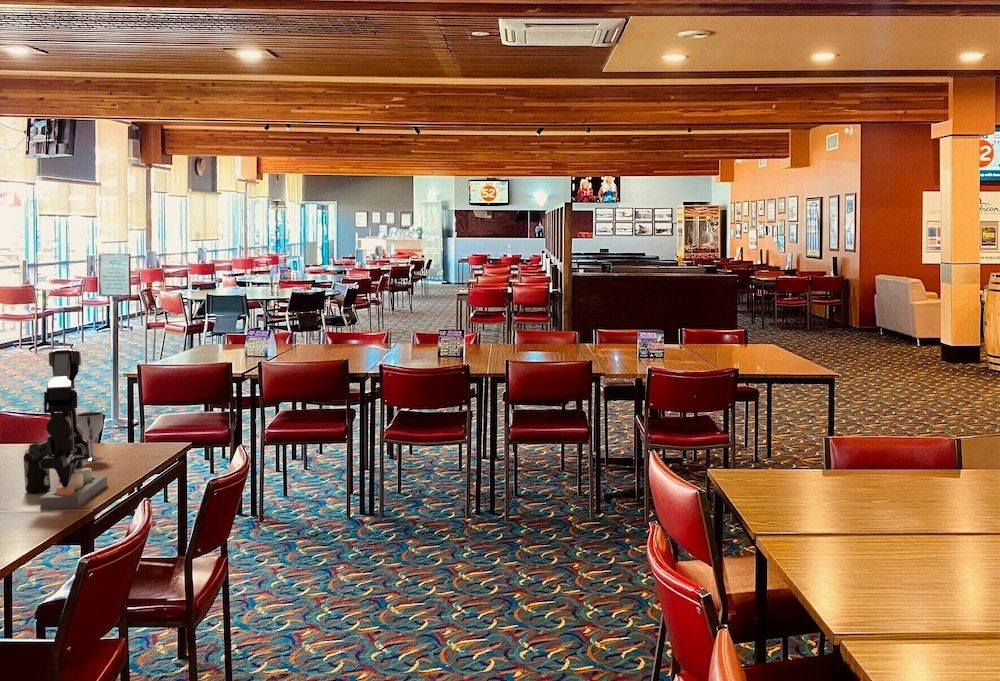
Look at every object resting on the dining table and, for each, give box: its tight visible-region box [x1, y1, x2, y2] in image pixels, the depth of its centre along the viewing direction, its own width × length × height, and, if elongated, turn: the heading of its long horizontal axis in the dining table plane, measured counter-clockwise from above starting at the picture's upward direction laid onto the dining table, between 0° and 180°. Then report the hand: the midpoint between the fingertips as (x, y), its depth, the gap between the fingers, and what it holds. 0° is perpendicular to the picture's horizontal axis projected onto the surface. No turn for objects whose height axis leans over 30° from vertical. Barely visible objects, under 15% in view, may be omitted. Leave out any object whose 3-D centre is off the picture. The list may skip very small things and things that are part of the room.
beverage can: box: [22, 449, 51, 495], centre depth 297 cm, size 7×7×12 cm
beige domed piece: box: [68, 474, 84, 489], centre depth 290 cm, size 5×5×4 cm
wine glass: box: [76, 411, 104, 462], centre depth 338 cm, size 8×8×15 cm
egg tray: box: [39, 475, 108, 509], centre depth 291 cm, size 24×10×3 cm, turn 3°
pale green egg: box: [74, 467, 93, 482], centre depth 297 cm, size 5×5×4 cm
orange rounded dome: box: [55, 485, 75, 495], centre depth 284 cm, size 5×5×4 cm
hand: (65, 486), depth 284 cm, fingers closed, pressing on orange rounded dome
